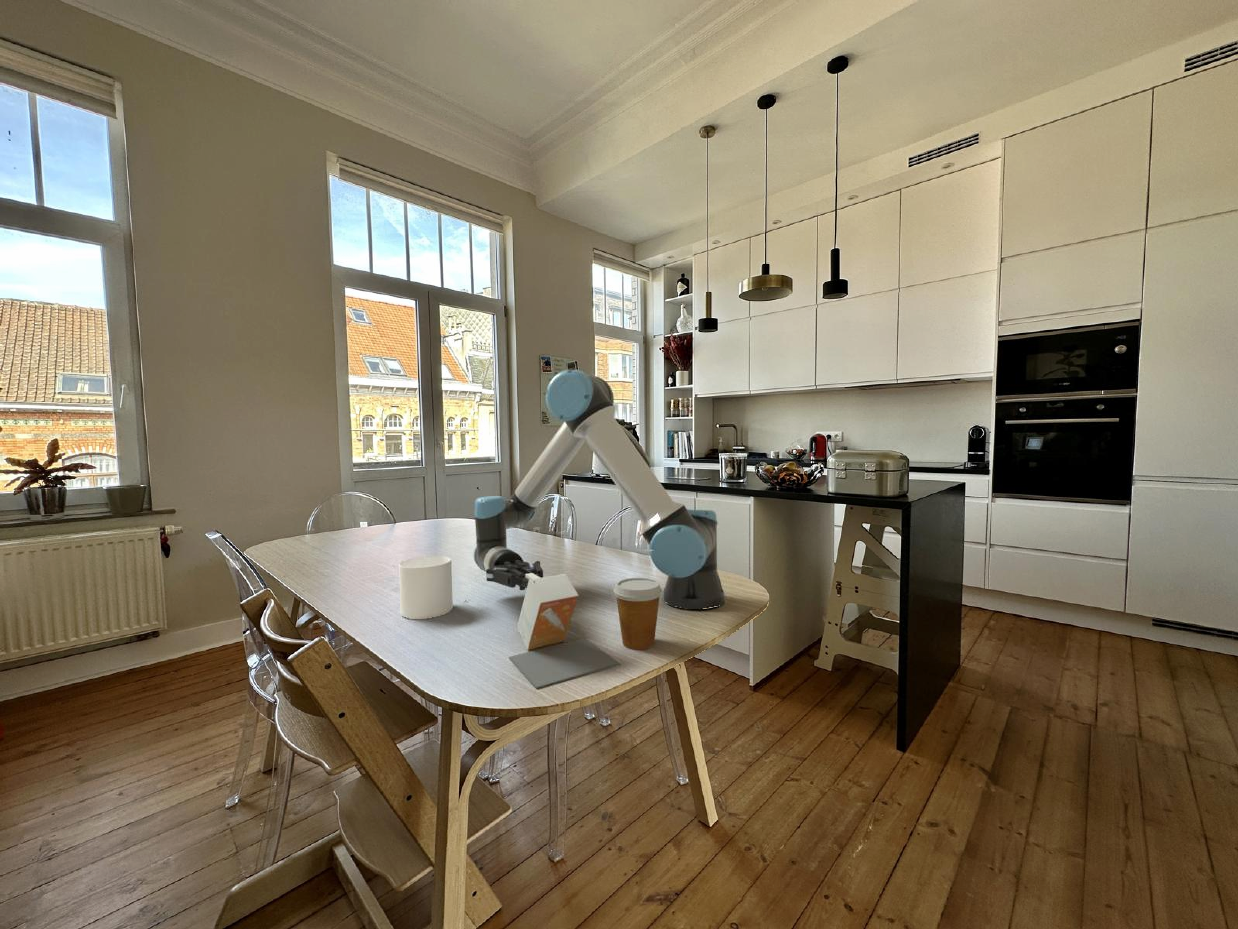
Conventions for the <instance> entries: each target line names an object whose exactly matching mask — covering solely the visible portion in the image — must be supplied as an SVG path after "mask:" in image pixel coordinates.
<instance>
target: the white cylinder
mask: <svg viewBox="0 0 1238 929" xmlns="http://www.w3.org/2000/svg"><path fill="white" fill-rule="evenodd" d="M452 572H453V571H452V559H451V558H449V557H446V556H437V555H435V556H423V557H415V558H414V557H413V558H411V559H407V560H404V561H401V562H400V563H399V565H398V576H399V577H398V578H399V579H398V580H399V602H400V603H399V604H400V605H399V606H400V607H399V608H400V609H399V610H400V616H401V615H402V616H404V617H406V618H405V619H407V618H409V620H415V619H417V620H428V619H427V618H429V619H433V618H432V617H434V618H438V617H442V616H443V615H446V614H448V613H450V612H452V610H453V605H454V603H453V576H452ZM441 615H442V616H441ZM402 616H401V617H402ZM437 616H438V617H437ZM404 617H403V618H404Z"/></svg>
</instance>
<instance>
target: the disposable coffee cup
mask: <svg viewBox="0 0 1238 929" xmlns="http://www.w3.org/2000/svg"><path fill="white" fill-rule="evenodd" d="M662 591H663V590H662V587H661V585H660V582H659V581H658V580H655V579H652V578H649V577H648V578H646V577H628V578H624V579H620V580H618V581H617V582H616V583H615V587H614V588H613V593H614V595H615V597H616V604H617V605H616V606H617V612H618V620H619V626H620V633H621V639H622V640H621V641H622V645H623V646H624V647H625V648H627V649H630V650H646V649H647V650H648V649H650V648H651V647H653V646H654V645H655V639H656V630H657V621H658V612H659V603H660V597H661V594H662ZM649 647H650V648H649Z"/></svg>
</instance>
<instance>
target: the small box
mask: <svg viewBox="0 0 1238 929" xmlns="http://www.w3.org/2000/svg"><path fill="white" fill-rule="evenodd" d="M578 599H579V594H578V592H577V590H576V589H575V587H574V585H573V583H572V581H571V580H570V578H569V576H568V574H567V573H562V574H556V575H549V576H547V575H546V576H543V577H542V578H537V579H532V580H529V582H528V586H527V588H526V589H525V594H524V599H523V602H522V606H521V609H520V610H521V611H520V614H519V617H518V622H517V627H516V628H517V630H518V631H519V634H520V636H521V639H522V641H523V643H524V645H525V647H526V649H527V650H526V651H531V650H534V649H536V648H541V647H542V648H543V647H545V646H549V645H550V646H551V645H552V644H558V643H561V642H562V643H563V642H564V641H565V638H566V636H567V632H568V631H569V626H570V624H571V621H572V617H573V614H574V611H575V608H576V604H577V601H578Z"/></svg>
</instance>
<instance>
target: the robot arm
mask: <svg viewBox="0 0 1238 929" xmlns="http://www.w3.org/2000/svg"><path fill="white" fill-rule="evenodd" d="M614 398H615V397H614V392H613V389H612V388H611V386H610V384H609V383H608V382H607V381H606V380H605V379H603V378H602V377H599V376H596V375H592V374H589V373H586V372H585V371H583V370H580V369H565V370H562V371H560V372H558V373H557V374H555V375H554V376H553V378H552V379H551V380H550V382H549V383H548V385H547V388H546V394H545V402H546V406H547V407H546V408H547V409H548V411H549V412H550V414H552V415H553V417H554V418H557V420H559V421H563V423H562V424H561V426H560V427H559V428H558V430H557V432H556V433H555V434H554V436H553V437H552V438H551V440H549V442H548V444H547V445H546V447H545V448H544V450H543V451H542V453H540V455H539V456H538V458H537V460H535V462H534V464H533V465H532V466H531V468H530V469H529V471H528V472H527V474H526V475H525V476H524V478H523V479H522V480H521V482H520V483H519V485H518V486H517V488H516V489H515V491H514V492H513V493H512V495H510V497H509V498H508V500H505V498H504V497H503V496H500V495H493V496H491V495H490V496H483V497H481V496H480V497H477V498H476V500H475V501H474V513H473V514H474V515H473V516H474V522H475V535H476V536H475V537H476V538H475V539H476V542H475V543H476V544H475V545H476V547H475V548H474V550H473V553H472V554H473V561H474V562H475V564H476V566H477V567H478V569H480V570H482V571H484V572H485V574H486V582H492V583H496V584H499V585H502V586H505V587H508V588H512V589H514V588H516V587H517V586H518V587H519V591H526V589H527V586H528V582H529V580H532V579H537V578H542V577H544V570H543V568H542V566H541V561H539V560H537V561H534V562H532V563H531V564H530V562H528V561H524V560H523V558H522V556H521V555H520V554H518V553H517V552H515V551H513V550H512V549H510V548H508V545H507V543H508V542H507V530H508V529H509V530H510V529H512V528H515V527H518V526H524V525H526V524H528V523H529V522H531V521H533V519H535V517H536V514H537V507H538V506H539V504H540V503H541V502H542V500H544V498H545V496H546V495H547V494H548V493H549V491H550V490H551V488H552V487H553V485H555V483H556V481H558V479H559V477H561V475H562V473H563V472H564V470H565V469H566V468H567V467H568V465H569V464H570V463H571V462H572V460H573V458H574V457H575V456H576V455H577V454H578V452H579V450H580V449H581V448H582V446H583V445H584V443H587V445H588V446H589V448H590V450H591V451H592V452H593V454H594V456H596V459H598V461H599V463H600V464H601V465H602V467H603V468H604V470H605V471H606V473H607V475H608V476H609V477H610V478H611V480H612V481H613V483H614V484H615V486H616V487H617V489H618V490H619V491H620V494H622V496H623V497H624V499H625V500H626V502H627V503H628V505H629V506H630V508H631V509H632V511H633V512H634V514H636V517H637V518H638V519H639V521H640V522H641V523H642V526H641V531H640V533H641V536H642V537H643V538H644V540H645V541H646V543H647V544H648V546H649V555H650V560H651V561H652V563H653V564H654V566H655V568H656V569H657V570H658V571H659V572H661V573H662V574H663V575H666V576H667V579H666V583H665V587H664V588H663V593H662V594H663V599H664V600H663V602H664V601H665V602H667V603H668V604H670V605H672V606H677V607H681V608H687V609H703V608H709V607H714V606H719V605H721V604H722V603H723V602H724V603H725V591H724V589H723V586H722V581H721V579H720V576H719V572H718V543H717V542H718V540H717V539H718V533H717V532H718V531H717V528H718V527H717V526H718V524H719V522H718V519H717V513H716V512H715V511H714V510H713V509H712V510H709V509H687V508H686V506H685V504H683V503H680V502H675V501H674V500H673V499H672V498H671V496H670V495H669V493H668V492H667V491H666V489H665V487H664V486H663V484H661V482H660V480H659V478H657V476H656V474H654V471H652V469H651V468H650V466H649V464H648V463H647V462H646V461H645V459H644V458H643V457H642V455H641V454H640V452H639V451H638V449H637V448H636V447H635V445H634V444H633V442H632V441H631V439H630V438H629V436H628V435H627V434H626V433H625V431H624V430H623V428H622V427H621V425H620V424H619V422H618V421H617V419H616V418H615V415H616V407H615V405H614V403H615V402H614V401H615V399H614ZM665 602H664V603H665ZM668 604H667V605H668ZM670 605H669V606H670ZM672 606H671V607H672ZM721 606H722V605H721ZM719 607H720V606H719ZM687 609H686V610H687Z"/></svg>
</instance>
